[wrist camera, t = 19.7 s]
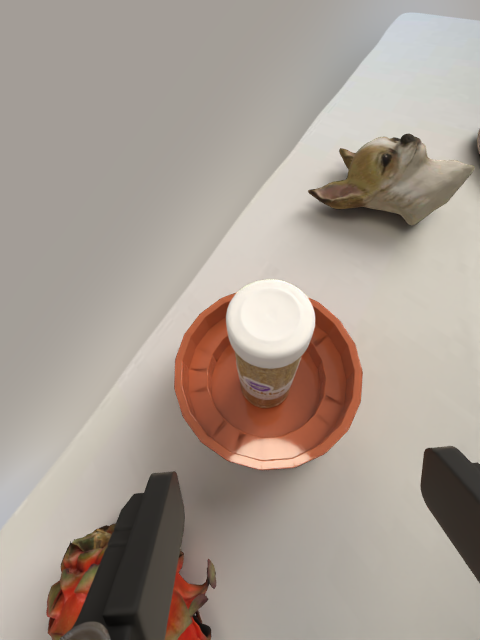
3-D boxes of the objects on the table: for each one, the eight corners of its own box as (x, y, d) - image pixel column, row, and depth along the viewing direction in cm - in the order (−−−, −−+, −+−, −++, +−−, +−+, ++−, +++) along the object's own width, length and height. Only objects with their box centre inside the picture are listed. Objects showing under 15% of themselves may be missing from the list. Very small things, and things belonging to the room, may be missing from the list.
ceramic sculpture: (471, 185, 25) (310, 146, 30) (426, 254, 32) (303, 213, 37) (498, 121, 29) (351, 96, 34) (452, 196, 36) (338, 167, 41)
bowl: (269, 292, 32) (271, 260, 27) (376, 391, 26) (403, 374, 21) (161, 376, 28) (140, 357, 23) (258, 510, 23) (258, 522, 18)
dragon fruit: (110, 509, 25) (221, 618, 22) (-4, 634, 18) (140, 809, 16) (129, 464, 20) (272, 596, 18) (-15, 609, 13) (188, 856, 11)
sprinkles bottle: (238, 407, 26) (218, 353, 14) (243, 357, 28) (229, 273, 16) (290, 411, 25) (318, 360, 13) (291, 361, 27) (316, 277, 15)
